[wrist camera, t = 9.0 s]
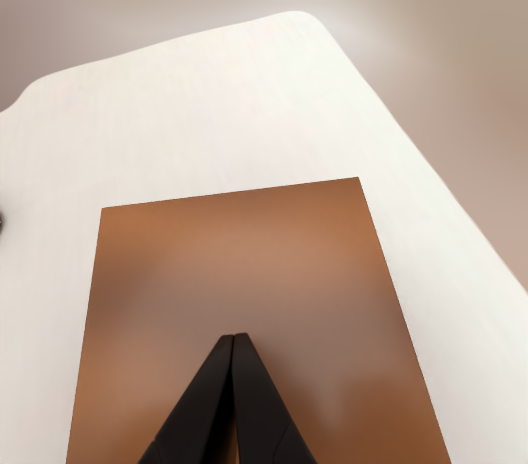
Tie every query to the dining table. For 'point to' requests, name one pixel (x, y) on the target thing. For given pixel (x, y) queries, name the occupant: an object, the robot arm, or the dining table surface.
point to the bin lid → (252, 322)
